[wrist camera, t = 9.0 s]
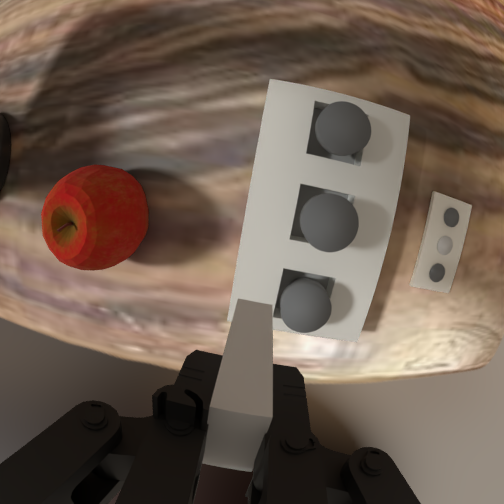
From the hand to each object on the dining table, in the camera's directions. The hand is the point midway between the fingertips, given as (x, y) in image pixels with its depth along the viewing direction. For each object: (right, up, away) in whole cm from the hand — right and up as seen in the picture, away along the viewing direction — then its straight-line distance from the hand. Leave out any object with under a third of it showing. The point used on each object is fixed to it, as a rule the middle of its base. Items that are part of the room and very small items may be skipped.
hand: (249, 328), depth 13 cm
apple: (-15, +8, +18) cm, 25 cm away
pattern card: (+22, +4, +16) cm, 27 cm away
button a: (+8, +15, +13) cm, 21 cm away
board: (+7, +7, +16) cm, 19 cm away
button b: (+7, +7, +14) cm, 17 cm away
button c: (+5, -1, +17) cm, 18 cm away
